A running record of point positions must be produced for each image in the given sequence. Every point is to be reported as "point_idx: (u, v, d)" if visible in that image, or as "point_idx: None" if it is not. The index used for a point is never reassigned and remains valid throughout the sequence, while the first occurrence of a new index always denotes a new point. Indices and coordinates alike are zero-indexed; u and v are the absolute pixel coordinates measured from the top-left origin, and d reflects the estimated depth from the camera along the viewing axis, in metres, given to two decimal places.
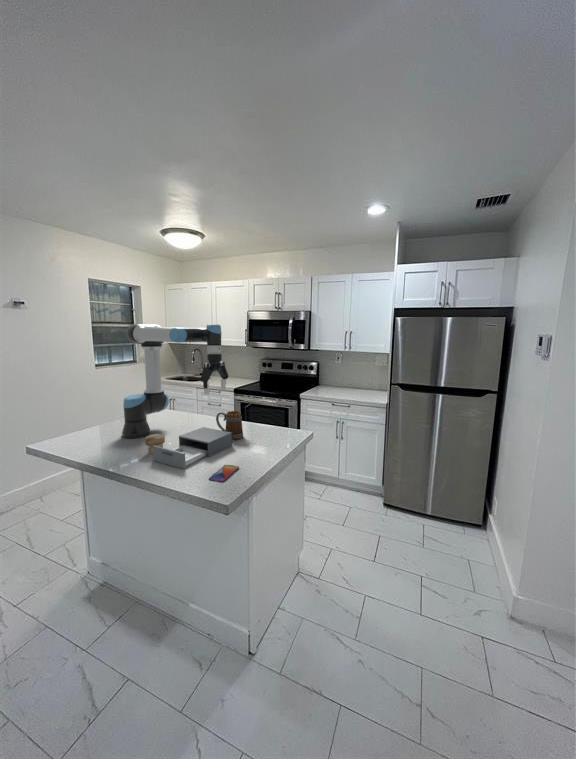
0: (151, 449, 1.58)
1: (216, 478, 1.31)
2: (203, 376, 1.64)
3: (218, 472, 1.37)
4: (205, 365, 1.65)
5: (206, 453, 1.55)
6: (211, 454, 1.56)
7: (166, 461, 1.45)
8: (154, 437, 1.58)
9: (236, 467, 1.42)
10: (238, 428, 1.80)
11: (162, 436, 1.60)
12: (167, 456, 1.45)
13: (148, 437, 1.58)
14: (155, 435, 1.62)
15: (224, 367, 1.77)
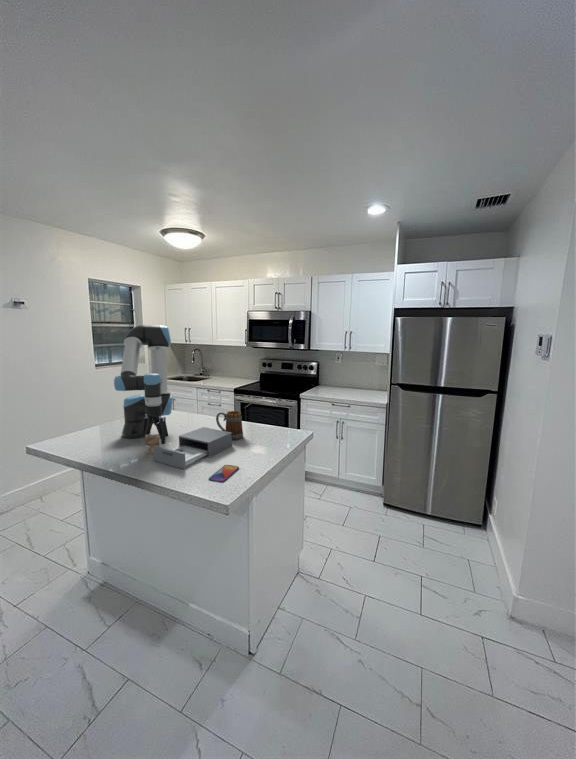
0: (151, 449, 1.58)
1: (216, 478, 1.31)
2: None
3: (218, 472, 1.37)
4: None
5: (206, 453, 1.55)
6: (211, 454, 1.56)
7: (166, 461, 1.45)
8: (154, 437, 1.58)
9: (236, 467, 1.42)
10: (238, 428, 1.80)
11: None
12: (167, 456, 1.45)
13: (148, 437, 1.58)
14: (155, 435, 1.62)
15: (160, 424, 1.55)
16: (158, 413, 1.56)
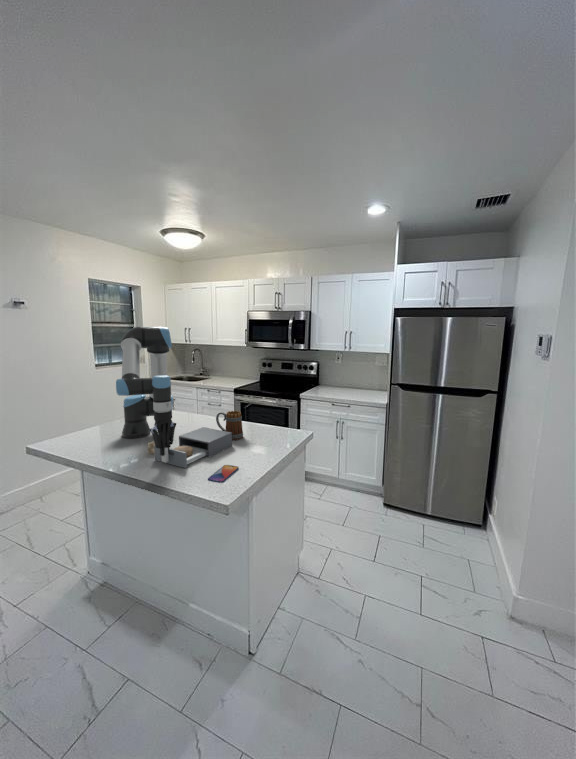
0: (151, 449, 1.58)
1: (215, 478, 1.31)
2: (157, 444, 1.38)
3: (217, 472, 1.37)
4: (152, 432, 1.36)
5: (207, 452, 1.56)
6: (211, 454, 1.56)
7: (168, 461, 1.46)
8: (182, 450, 1.51)
9: (236, 467, 1.42)
10: (238, 428, 1.80)
11: (190, 448, 1.53)
12: (169, 455, 1.46)
13: None
14: (182, 447, 1.55)
15: (173, 430, 1.45)
16: None
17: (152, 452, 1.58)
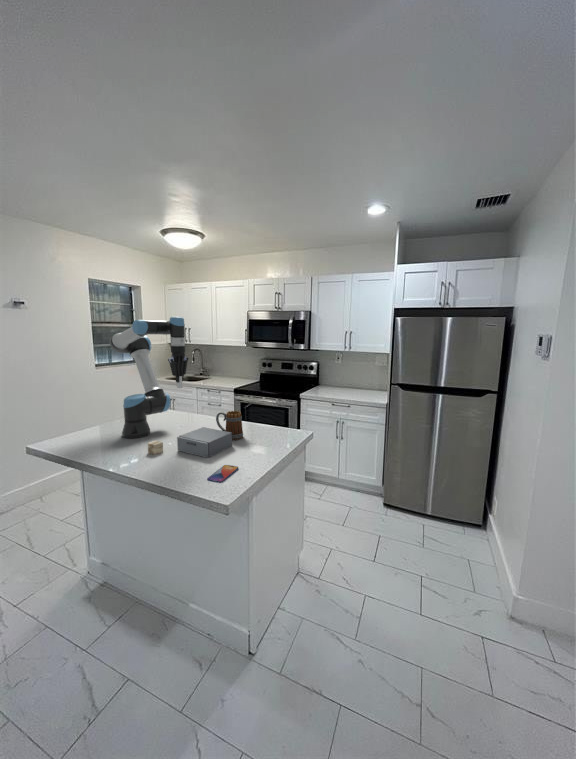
0: (151, 449, 1.58)
1: (215, 478, 1.31)
2: (173, 371, 1.73)
3: (217, 472, 1.37)
4: (170, 361, 1.71)
5: None
6: (211, 454, 1.56)
7: (190, 451, 1.59)
8: None
9: (235, 467, 1.41)
10: (238, 428, 1.80)
11: None
12: (191, 446, 1.58)
13: None
14: None
15: (186, 363, 1.80)
16: None
17: (152, 452, 1.58)
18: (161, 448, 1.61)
